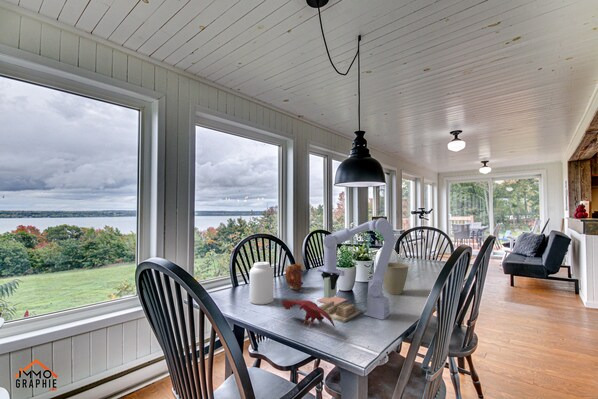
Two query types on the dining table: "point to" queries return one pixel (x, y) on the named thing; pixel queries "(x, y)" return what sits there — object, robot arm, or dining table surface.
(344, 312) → the offcut pile
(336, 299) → the mat
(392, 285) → the plant pot
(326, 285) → the pale green block
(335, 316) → the wooden blocks on board
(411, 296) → the dining table surface
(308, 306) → the red animal figurine
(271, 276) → the white jar
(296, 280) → the orange-brown rough oval lump
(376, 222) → the robot arm
